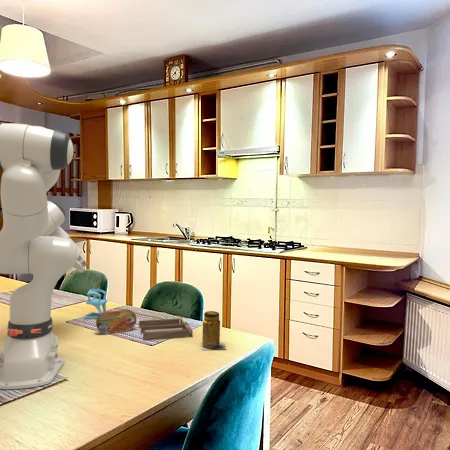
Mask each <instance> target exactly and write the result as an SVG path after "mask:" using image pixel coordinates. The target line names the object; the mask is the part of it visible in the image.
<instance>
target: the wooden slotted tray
mask: <svg viewBox="0 0 450 450" xmlns="http://www.w3.org/2000/svg"><path fill="white" fill-rule="evenodd" d="M138 328H139V329H140V334H141V335H142V336H143V337H142V340H143V341H151V340H150V339H156V340H170V339H182V338H183V339H184V338H193V335H194V334H193V333H194V331H193V329H192V327H191V326H190V325H189V324H188V320H187V319H186V318H185V317H180V318H165V319H144V320H138ZM142 333H143V334H142Z"/></svg>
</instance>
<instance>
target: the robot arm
mask: <svg viewBox="0 0 450 450" xmlns="http://www.w3.org/2000/svg"><path fill="white" fill-rule="evenodd" d="M73 157H74V144H73V142H72V138H71V137H70V135H69V134H68V133H67V132H64V131H63V130H59V129H54V130H53V129H50V128H46V127H44V126H41V125H40V126H39V125H31V124H26V123H10V122H9V123H7V122H6V123H5V122H3V121H0V172H1V171H2V170H3V171H2V175H1V180H0V203H1V208H2V209H1V210H2V217H3V218H2V221H3V223H2V224H3V225H2V228H1V229H0V274H1V275H2V274H4V275H20V274H22V275H23V274H25V275H26V274H30V275H33V279H32V280H31V281H30V282H28V283H26V284H25V283H24V284H23V285H21V286H20V287H17V288H15V290H14V291H13V292H11V294H10V297H9V320H8V322H7V323H8V324H7V336H6V337H5V338H4V339H3V355H1V356H0V390H19V389H20V390H21V389H27V388H28V389H30V388H36V387H41V386H45V385H47V384H48V385H49V384H51V383H52V382H53V380H54V379H55V377H56V376H57V374H58V373H59V371H60V370H61V369H62V368H63V366H64V365H65V360H64V358H60V357H59V348H58V347H59V346H58V344H59V343H58V342H59V341H58V340H59V339H58V336H57V335H56V334H55V333H54V332H53V324H54V323H53V317H52V316H51V315H52V314H51V313H52V312H51V311H52V301H53V300H52V299H53V298H52V297H53V292H54V290H55V287H56V285H57V284H58V281H59V280H60V279H61V278H62V277H63V276H64V275H65V274H66V273H67V272H69V271H70V270H71V269H72V268H74V269H75V270H78V272H80V273H81V274H82V273H83V272H85V270H86V268H85V267H86V266H87V265H88V262H87V261H86V260H85V258H84V257H83V256H82V254H81V253H82V250H81V248H80V247H79V246H78V245H77V244H76V242H75V241H74V240H73V238H71V237H70V236H71V234H69V233H68V231H65V230H64V229H63V228H62V227H61V225H63V223H64V222H65V220H66V211H65V208H63V206H62V205H61V204H60V203H58V202H57V201H54V200H48V196H47V193H48V192H49V190H50V189H52V187H54V186H55V184H56V183H57V182H58V180H59V177H60V175H61V174H60V173H61V170H65V169H67V168H68V167H69V166H70V163H71V162H72V160H73Z"/></svg>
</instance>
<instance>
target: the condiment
mask: <svg viewBox="0 0 450 450" xmlns="http://www.w3.org/2000/svg"><path fill="white" fill-rule="evenodd" d="M220 336H221V320H220V313H219V312H218V311H215V310H209V311H206V312H204V313H203V320H202V342H200V347H201V350H202V351H203V350H204V351H214V350H216V351H218V350H227V348H226V342H220Z"/></svg>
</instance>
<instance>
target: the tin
mask: <svg viewBox="0 0 450 450" xmlns="http://www.w3.org/2000/svg"><path fill="white" fill-rule="evenodd" d="M99 314H100V313H99ZM136 324H137V316H136V314H135V312H134V311H133V310H131V309H127V308H123V309H116V310H115V309H114V310H106V312H103V311H102V313H101V314H100V315H99V316H98V317H97V319H95V326H96V328H97V330H98V331H99V332H100V333H101V334H103V335H111V334H113V335H114V334H119V333H124V332H125V333H126V332H129V331H132V329H133V328H135V326H136Z"/></svg>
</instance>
